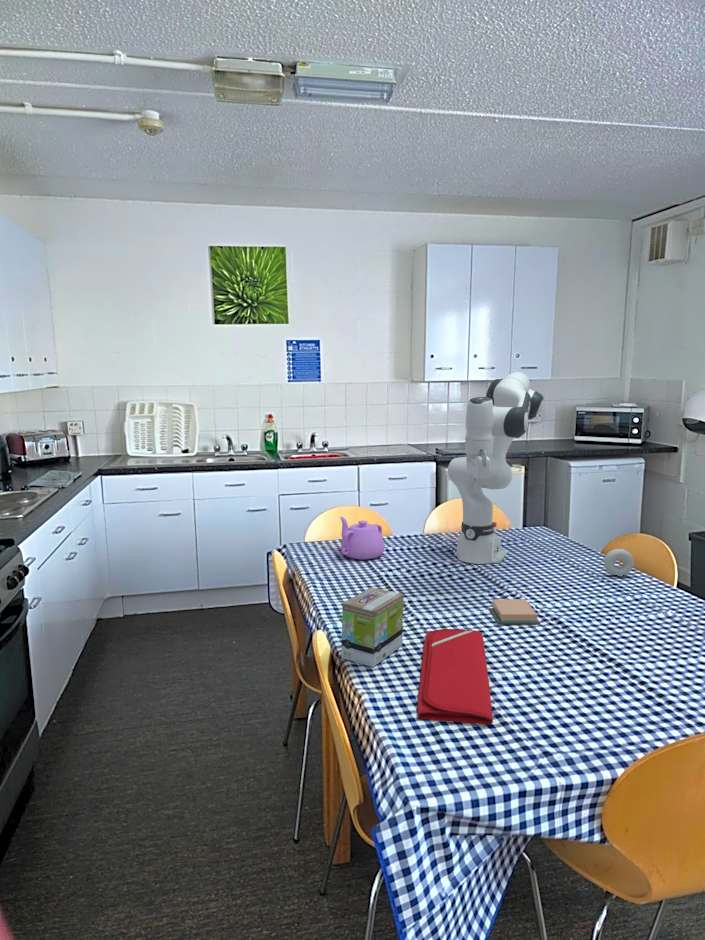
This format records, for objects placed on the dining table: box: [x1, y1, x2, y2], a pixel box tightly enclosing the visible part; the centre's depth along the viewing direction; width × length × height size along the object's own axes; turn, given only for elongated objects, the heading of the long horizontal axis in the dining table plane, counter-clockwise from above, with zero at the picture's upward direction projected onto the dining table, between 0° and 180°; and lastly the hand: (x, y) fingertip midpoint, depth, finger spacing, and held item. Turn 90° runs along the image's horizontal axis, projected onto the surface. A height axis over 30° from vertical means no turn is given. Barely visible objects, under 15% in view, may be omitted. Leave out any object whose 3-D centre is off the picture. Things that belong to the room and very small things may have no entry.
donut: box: [603, 548, 635, 577], centre depth 220 cm, size 10×4×10 cm, turn 84°
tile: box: [491, 598, 538, 623], centre depth 185 cm, size 2×10×12 cm
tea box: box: [340, 587, 404, 668], centre depth 160 cm, size 15×10×15 cm, turn 148°
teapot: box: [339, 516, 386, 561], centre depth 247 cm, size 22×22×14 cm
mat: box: [489, 607, 541, 625], centre depth 184 cm, size 11×12×1 cm
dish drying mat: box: [417, 628, 494, 726], centre depth 149 cm, size 16×41×4 cm, turn 171°
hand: (477, 490), depth 204 cm, fingers closed
